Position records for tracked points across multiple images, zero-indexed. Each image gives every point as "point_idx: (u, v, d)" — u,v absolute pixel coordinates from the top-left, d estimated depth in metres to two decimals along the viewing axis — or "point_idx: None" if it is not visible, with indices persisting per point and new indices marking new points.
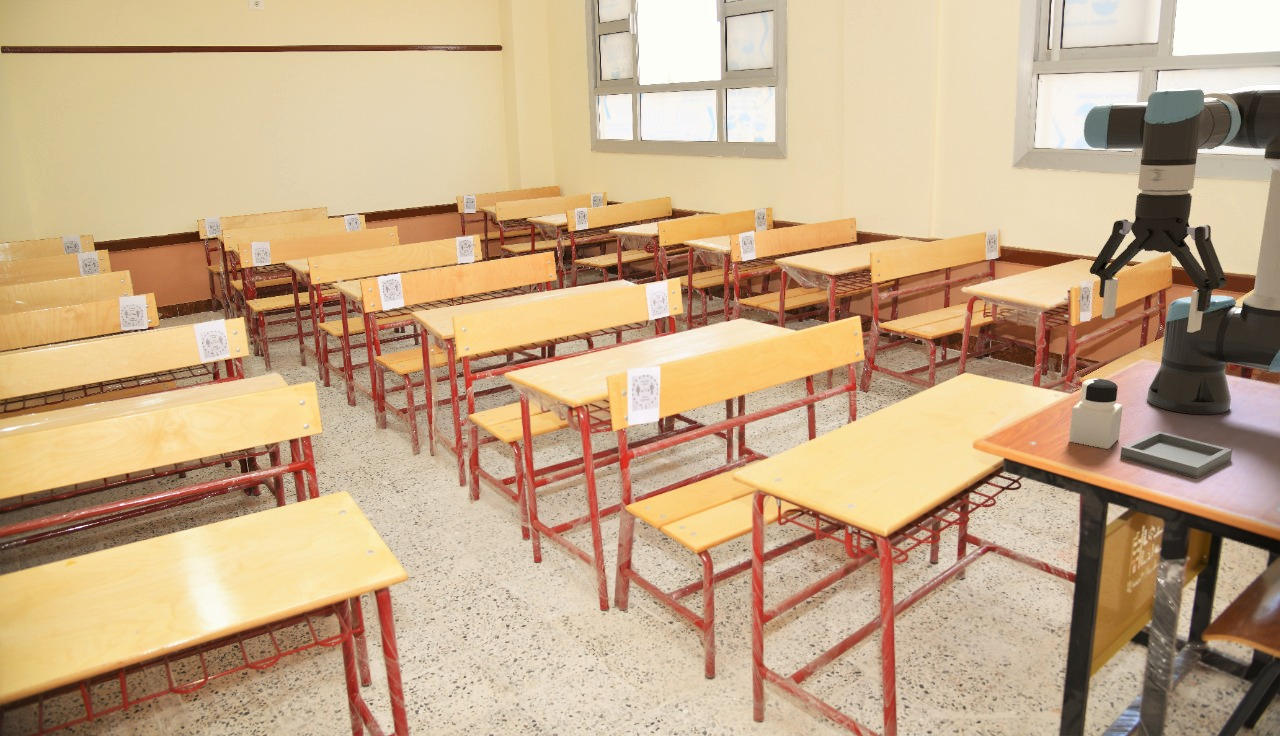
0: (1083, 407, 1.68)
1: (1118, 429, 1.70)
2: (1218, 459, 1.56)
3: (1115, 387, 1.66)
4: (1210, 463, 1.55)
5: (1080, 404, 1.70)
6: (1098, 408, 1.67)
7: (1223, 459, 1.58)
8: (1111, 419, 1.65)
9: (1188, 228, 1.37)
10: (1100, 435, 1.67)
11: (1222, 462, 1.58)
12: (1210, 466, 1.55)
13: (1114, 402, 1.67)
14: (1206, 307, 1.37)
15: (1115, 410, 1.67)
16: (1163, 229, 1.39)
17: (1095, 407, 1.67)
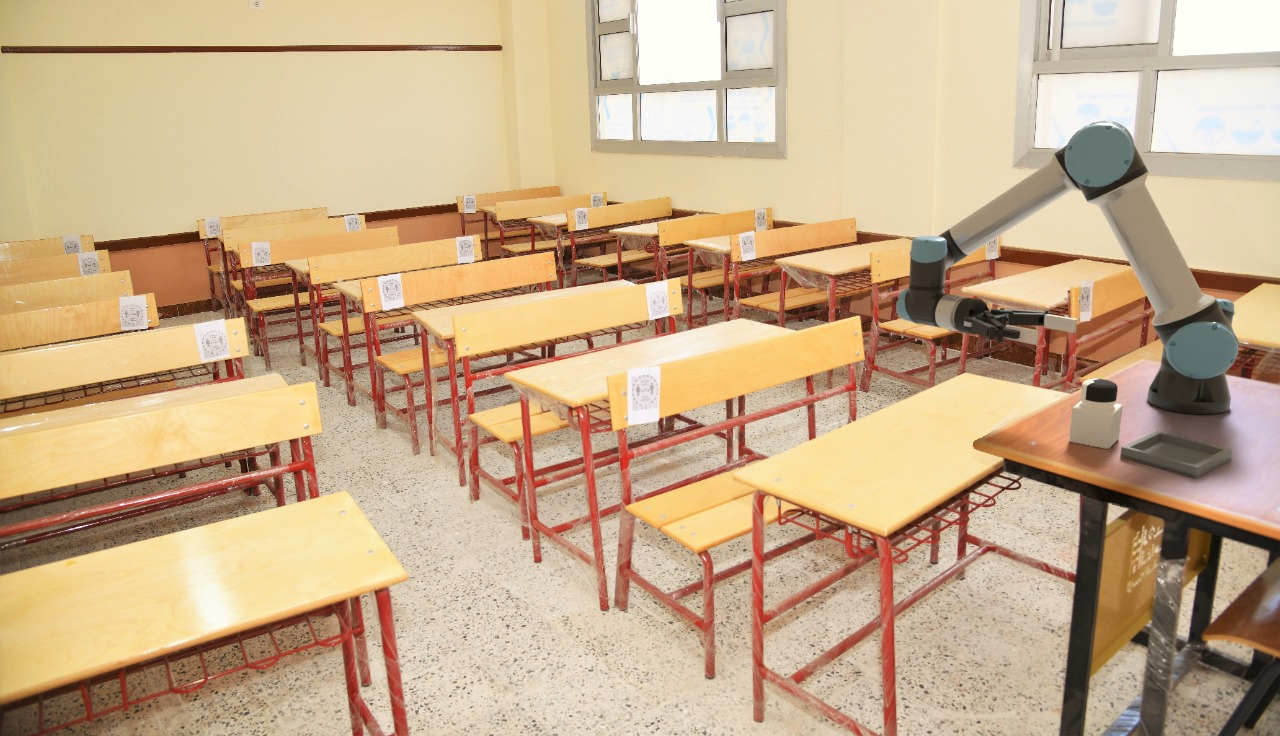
0: (1083, 407, 1.68)
1: (1118, 429, 1.70)
2: (1218, 459, 1.56)
3: (1115, 387, 1.66)
4: (1210, 463, 1.55)
5: (1080, 404, 1.70)
6: (1098, 408, 1.67)
7: (1223, 459, 1.58)
8: (1111, 419, 1.65)
9: None
10: (1100, 435, 1.67)
11: (1222, 462, 1.58)
12: (1210, 466, 1.55)
13: (1114, 402, 1.67)
14: (1013, 336, 1.72)
15: (1115, 410, 1.67)
16: None
17: (1095, 407, 1.67)
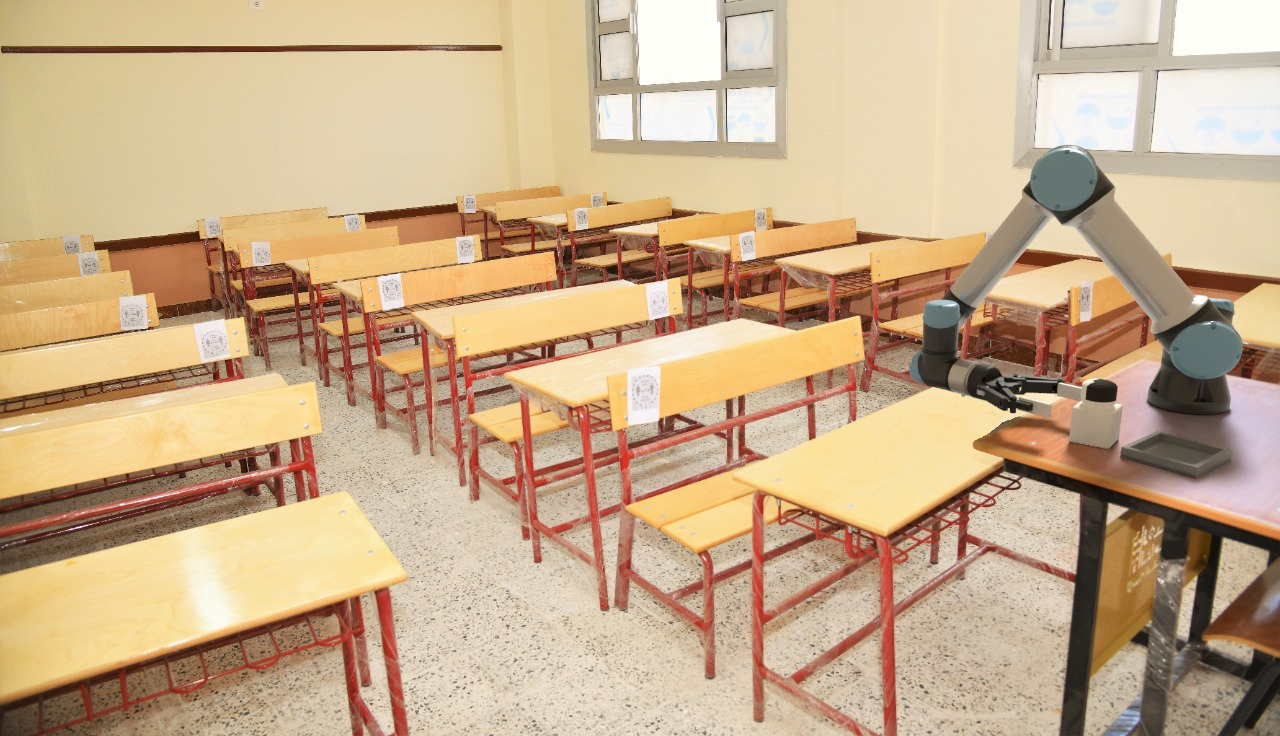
0: (1083, 407, 1.68)
1: (1118, 429, 1.70)
2: (1218, 459, 1.56)
3: (1115, 387, 1.66)
4: (1210, 463, 1.55)
5: (1080, 404, 1.70)
6: (1098, 408, 1.67)
7: (1223, 459, 1.58)
8: (1111, 419, 1.65)
9: None
10: (1100, 435, 1.67)
11: (1222, 462, 1.58)
12: (1210, 466, 1.55)
13: (1114, 402, 1.67)
14: (1026, 409, 1.72)
15: (1115, 410, 1.67)
16: None
17: (1095, 407, 1.67)
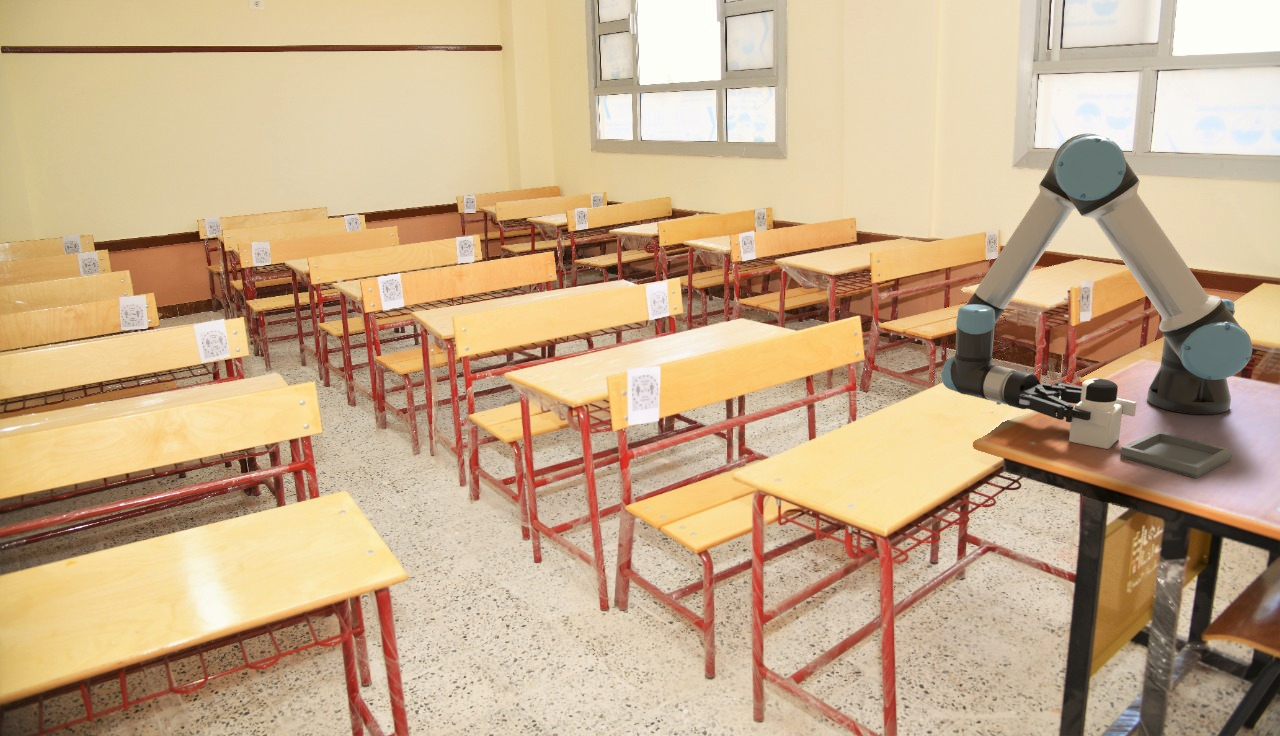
0: None
1: (1118, 429, 1.70)
2: (1218, 459, 1.56)
3: (1115, 387, 1.66)
4: (1210, 463, 1.55)
5: (1080, 404, 1.70)
6: (1098, 408, 1.67)
7: (1223, 459, 1.58)
8: (1111, 419, 1.65)
9: None
10: (1100, 435, 1.67)
11: (1222, 462, 1.58)
12: (1210, 466, 1.55)
13: (1114, 402, 1.67)
14: (1083, 417, 1.66)
15: (1115, 410, 1.67)
16: None
17: (1095, 407, 1.67)
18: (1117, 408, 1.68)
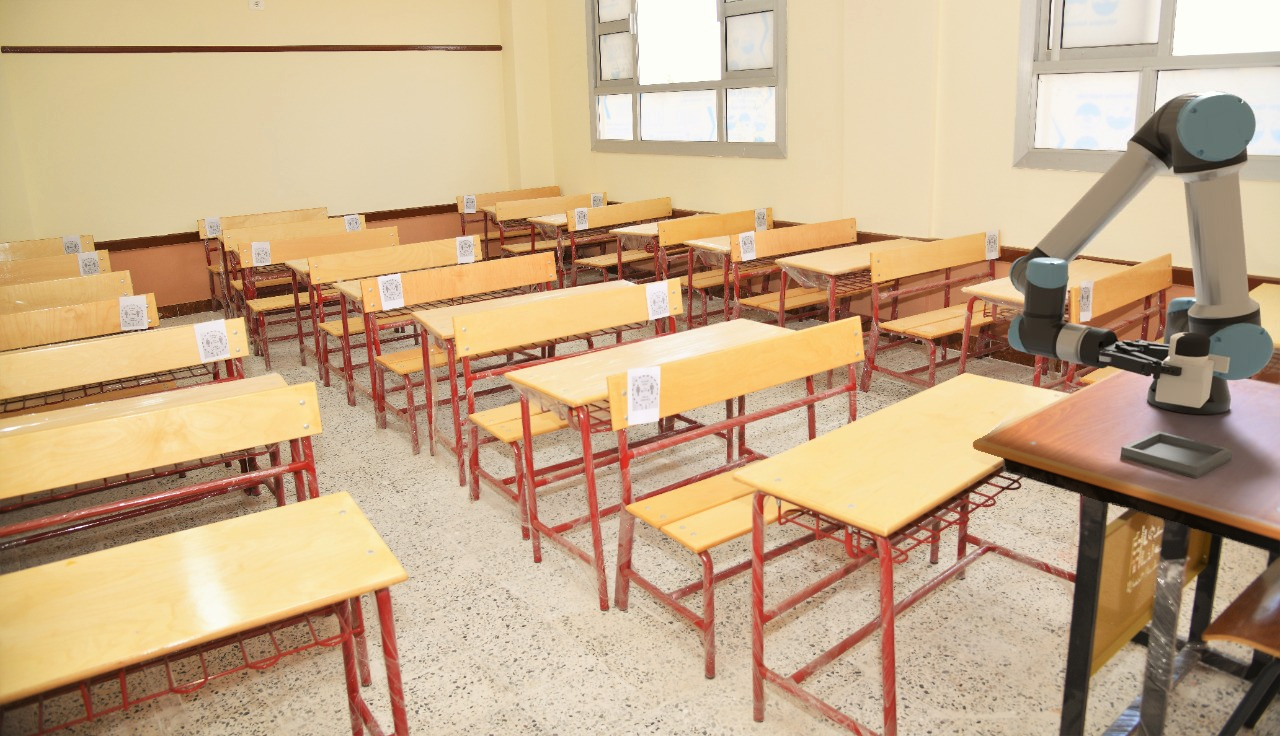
0: None
1: (1209, 387, 1.57)
2: (1218, 459, 1.56)
3: (1208, 340, 1.53)
4: (1210, 463, 1.55)
5: None
6: (1189, 363, 1.54)
7: (1223, 459, 1.58)
8: None
9: None
10: (1191, 392, 1.54)
11: (1222, 462, 1.58)
12: (1210, 466, 1.55)
13: (1207, 357, 1.54)
14: (1174, 373, 1.53)
15: (1208, 365, 1.53)
16: None
17: (1186, 362, 1.54)
18: (1209, 364, 1.54)
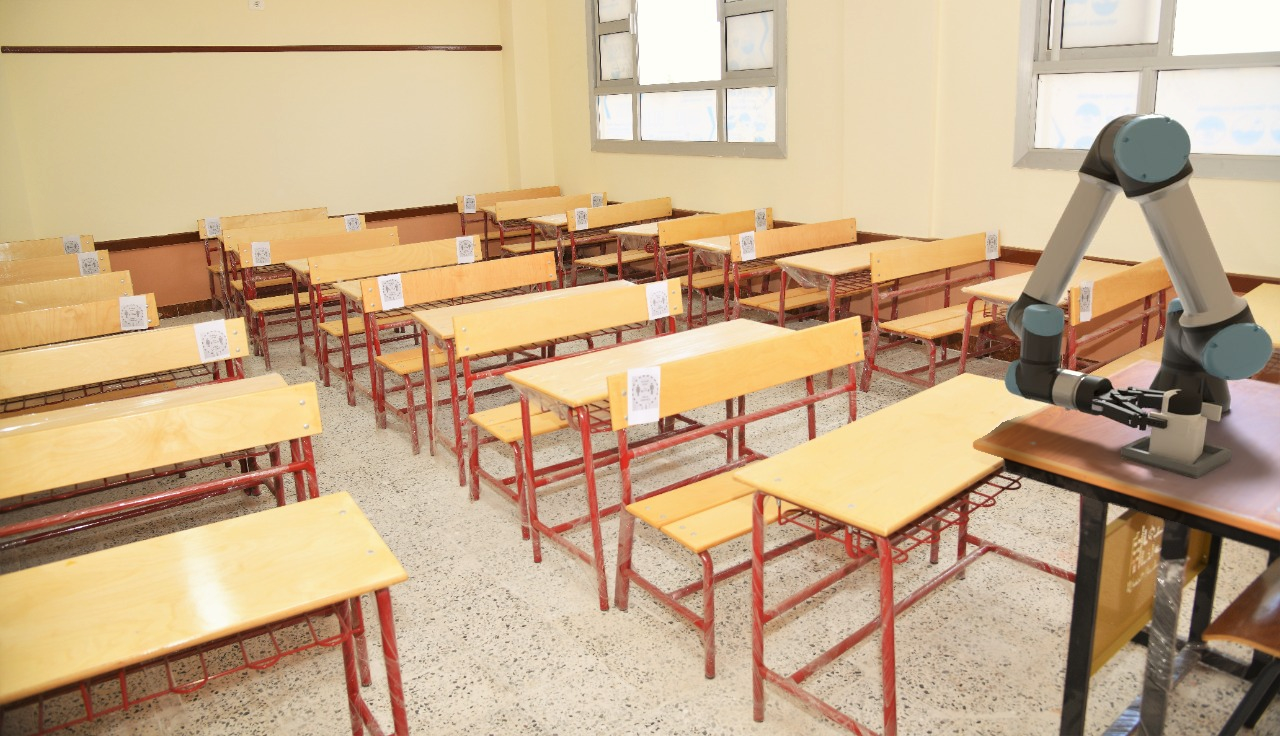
0: None
1: (1202, 443, 1.60)
2: (1218, 459, 1.56)
3: (1200, 399, 1.56)
4: (1210, 463, 1.55)
5: None
6: None
7: (1223, 459, 1.58)
8: (1196, 433, 1.55)
9: None
10: (1183, 450, 1.57)
11: (1222, 462, 1.58)
12: (1210, 466, 1.55)
13: (1199, 415, 1.56)
14: (1160, 426, 1.55)
15: (1200, 423, 1.56)
16: None
17: None
18: (1202, 421, 1.57)
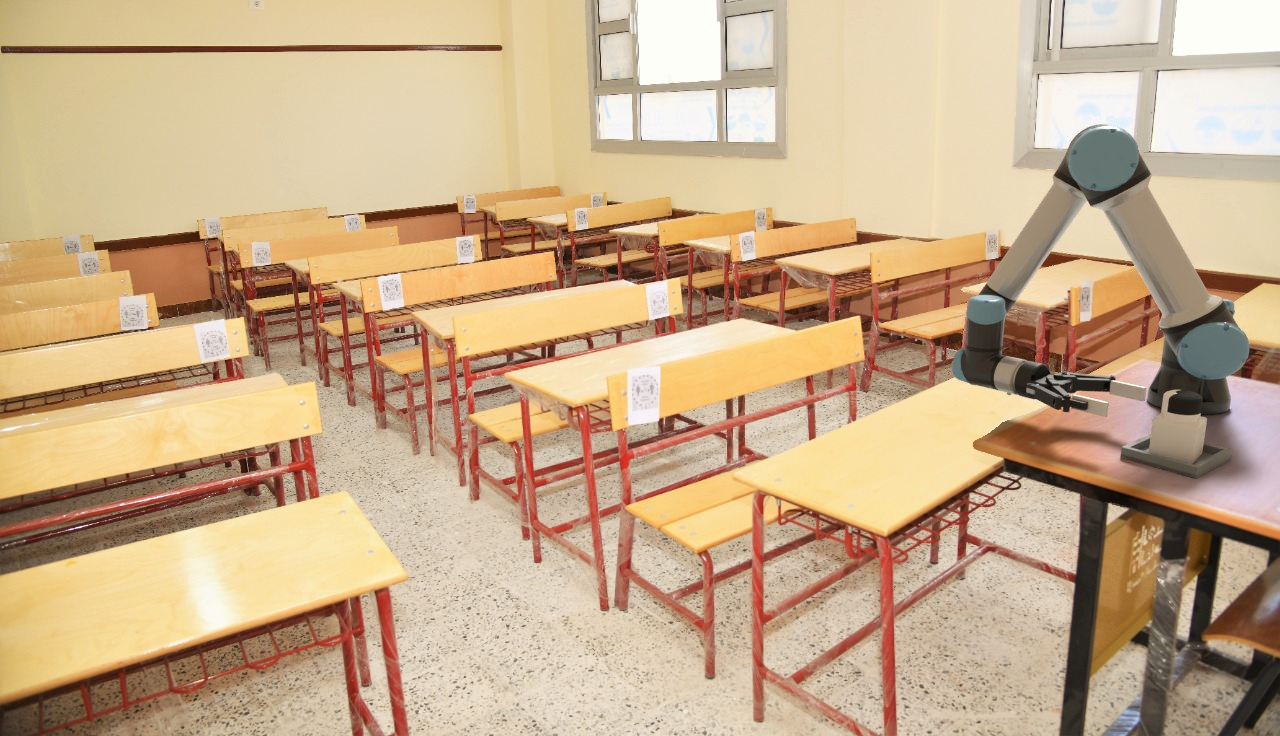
0: (1165, 420, 1.58)
1: (1202, 443, 1.60)
2: (1218, 459, 1.56)
3: (1200, 399, 1.56)
4: (1210, 463, 1.55)
5: (1161, 416, 1.60)
6: (1181, 421, 1.57)
7: (1223, 459, 1.58)
8: (1196, 433, 1.55)
9: None
10: (1183, 450, 1.57)
11: (1222, 462, 1.58)
12: (1210, 466, 1.55)
13: (1199, 415, 1.57)
14: (1081, 407, 1.66)
15: (1200, 423, 1.56)
16: None
17: (1178, 420, 1.57)
18: (1202, 421, 1.57)
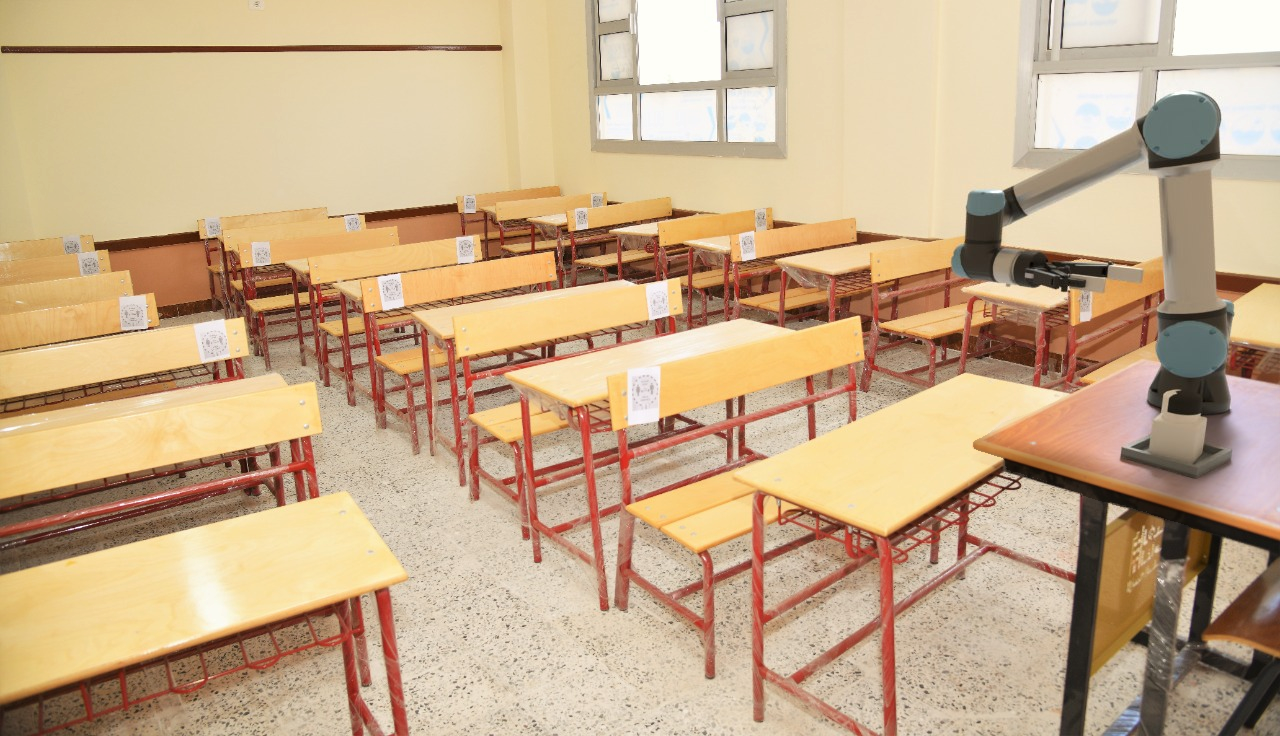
0: (1164, 420, 1.58)
1: (1202, 443, 1.60)
2: (1218, 459, 1.56)
3: (1200, 399, 1.56)
4: (1210, 463, 1.55)
5: (1161, 416, 1.60)
6: (1181, 421, 1.57)
7: (1223, 459, 1.58)
8: (1196, 433, 1.55)
9: None
10: (1183, 450, 1.57)
11: (1222, 462, 1.58)
12: (1210, 466, 1.55)
13: (1199, 415, 1.57)
14: (1078, 285, 1.68)
15: (1200, 423, 1.56)
16: None
17: (1178, 420, 1.57)
18: (1202, 421, 1.57)
